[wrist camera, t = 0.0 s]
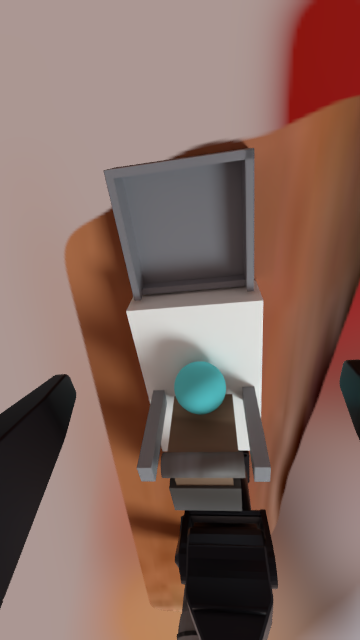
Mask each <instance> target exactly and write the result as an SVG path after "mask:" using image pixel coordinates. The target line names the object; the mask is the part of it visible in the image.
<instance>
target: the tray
mask: <svg viewBox="0 0 360 640" xmlns="http://www.w3.org/2000/svg"><path fill="white" fill-rule="evenodd" d="M104 175H105V179H106V183H107V188H108V192H109V196H110V199H111V204H112V208H113V213H114V217H115V221H116V225H117V229H118V234H119V238H120V242H121V246H122V250H123V255H124V259H125V263H126V267H127V271H128V276H129V280H130V284H131V288H132V292H133V297H134V301H140V300H141V299H142V296H143V295H145V294H157V293H168V292H180V291H191V290H203V289H215V288H226V287H238V286H246V290H247V292H248V291H254V148H244V149H238V150H231V151H224V152H217V153H211V154H204V155H197V156H190V157H184V158H177V159H170V160H163V161H157V162H150V163H144V164H137V165H130V166H123V167H116V168H112V169H108V170H104Z"/></svg>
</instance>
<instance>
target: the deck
mask: <svg viewBox="0 0 360 640" xmlns="http://www.w3.org/2000/svg"><path fill="white" fill-rule="evenodd" d="M126 313H127V317H128V320H129V324H130V328H131V332H132V336H133V340H134V344H135V347H136V351H137V355H138V359H139V363H140V367H141V370H142V374H143V378H144V382H145V386H146V390H147V393H148V397H149V401H150V408H149V413H148V418H147V423H146V427H145V432H144V437H143V441H142V446H141V451H140V456H139V460H138V465H137V470H138V473H139V475H140V478H141V481H156V474H157V467H158V460H159V454H160V447H162V451H168V443H169V435H170V427H171V419H172V411H173V403H174V396H175V391H174V383H175V379H176V377H177V374H178V373H179V371H180V370H181V369H182V368H183V367H184V366H186V365H187V364H189V363H192V362H196V361H203V362H208V363H210V364H212V365H214V366H215V367H217V368H218V369H219V370H220V372H221V373H222V375H223V377H224V379H225V383H226V394H232V396H233V406H234V415H235V424H236V433H237V443H238V450H250V454H251V461H252V468H253V474H254V481H255V482H270V471H271V467H270V462H269V457H268V452H267V447H266V442H265V437H264V432H263V427H262V422H261V386H262V338H263V298H262V296H261V293H260V290H259V288H258V285H257V282H256V280H254V291H248V292H247V290H246V286H238V287H226V288H215V289H203V290H191V291H180V292H168V293H157V294H145V295H143V296H142V299H141V300H140V301H134V297H133V298H132V300H131V302H130V304H129V306H128V308H127V310H126Z"/></svg>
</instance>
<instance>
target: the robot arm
mask: <svg viewBox="0 0 360 640" xmlns="http://www.w3.org/2000/svg"><path fill="white" fill-rule="evenodd" d="M340 388H341V391H342V394H343V396H344V399H345V402H346V405H347V408H348V411H349V413H350V416H351V419H352V422H353V425H354V427H355V430H356V433H357V435H358V437H359V440H360V360H346V361H344V363H343V367H342V372H341V376H340ZM75 400H76V391H75V388H74V386H73V384H72V382H71V379H70V377H69V376H68V375H66V374H61V375H55V376H53V377H52V378H50V379H49V380H48V381H46V382H45V383H43V384H42V385H41V386H39V387H38V388H36V389H35V390H33V391H32V392H31V393H29V394H28V395H27V396H25V397H24V398H22V399H21V400H19V401H18V402H17V403H15V404H14V405H12V406H11V407H10V408H8V409H7V410H5V411H4V412H3V413H1V414H0V608H1V605H2V603H3V599H4V597H5V594H6V592H7V589H8V586H9V584H10V581H11V578H12V576H13V573H14V571H15V568H16V565H17V563H18V560H19V558H20V555H21V552H22V550H23V547H24V544H25V542H26V539H27V537H28V534H29V531H30V529H31V526H32V524H33V521H34V518H35V516H36V513H37V510H38V508H39V505H40V502H41V500H42V497H43V495H44V492H45V490H46V487H47V484H48V482H49V479H50V477H51V474H52V471H53V469H54V466H55V463H56V461H57V458H58V456H59V453H60V450H61V448H62V445H63V442H64V439H65V436H66V433H67V429H68V426H69V422H70V418H71V414H72V410H73V407H74V403H75ZM238 452H243V455H244V463H245V478H240V481H241V495H242V511H204V510H185V514H184V515H183V516H182V517H181V526H180V535H179V540H178V545H177V549H176V554H175V563H176V564H177V566H178V567H179V572H180V577H181V583H182V584H186V588H185V596H186V600H187V604H188V607H189V611H190V614H191V618H192V621H193V624H194V626H195V629H196V632H197V634H198V637H199V640H267V638H268V634H269V631H270V628H271V625H272V612H273V594H272V589H277V588H278V580H277V570H276V562H275V555H274V550H273V545H272V540H271V535H270V530H269V525H268V521H267V516H266V511H265V510H261V509H260V510H251V505H250V497H249V489H248V483H249V452H248V451H247V450H238Z"/></svg>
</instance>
